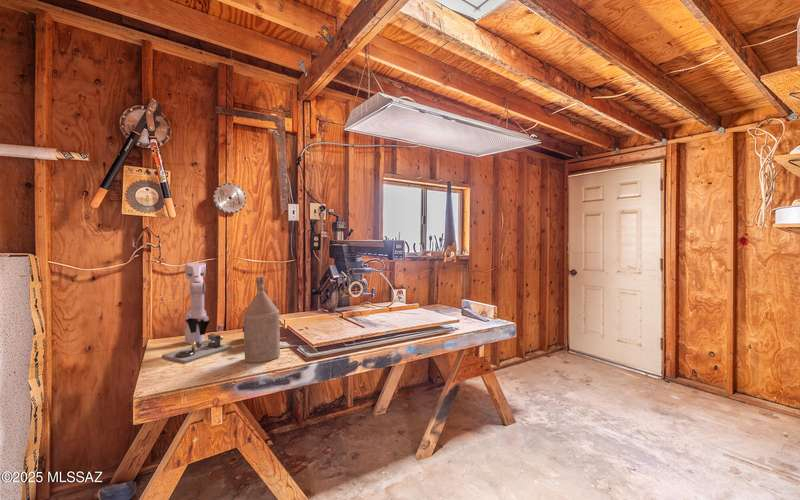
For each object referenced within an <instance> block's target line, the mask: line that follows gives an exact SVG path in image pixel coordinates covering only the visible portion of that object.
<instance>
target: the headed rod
mask: <svg viewBox="0 0 800 500" xmlns="http://www.w3.org/2000/svg"><path fill="white" fill-rule="evenodd" d="M223 339H224V336H222V335H220V341H222V340H223ZM205 340H206V341H202V342H200V341H199V342H196V344H195V345H196V347H197V348H199V347H201V346H203V345H206V344H210V343H213V342H214V338H213V339H209V340H208V339H205Z"/></svg>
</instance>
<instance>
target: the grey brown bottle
mask: <svg viewBox="0 0 800 500" xmlns="http://www.w3.org/2000/svg"><path fill="white" fill-rule="evenodd" d="M255 282H256V291H257V292H256V294H255V296H254V298H253V299H252V301H251V303H250V304H249V306H248V307H247V309H246V310H245V312H244V313H243V314H242V319H243V321H244V323H243V325H244V332H243V346H244V348H243V349H244V361H245V362H246V363H249V364H250V363H251V364H254V363H255V364H256V363H263V362H269V361H272V360H275V359H277V358H278V357H280V356H281V343H280V342H281V341H280V340H281V339H280V338H281V333H280V331H281V329H280V309H278V308H280V306H281V305H282V300H281V298H279V297H274V298H273V299H272V300H271V299H270V297H269V296H268V295H267V294H268V293H269V289H268V285H269V283H268V282H266V283H264V282H265V275H259V276H255ZM266 285H267V286H266ZM264 287H265V288H264ZM275 300H279V305H278V306H277V305H276V304H275V303H274V301H275Z"/></svg>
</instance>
